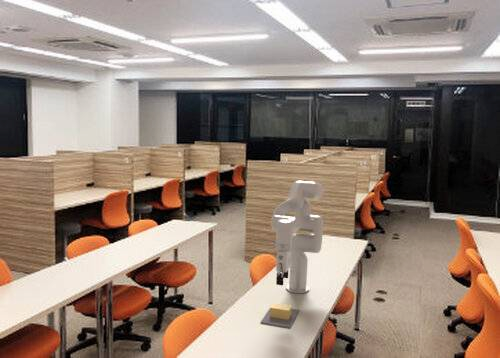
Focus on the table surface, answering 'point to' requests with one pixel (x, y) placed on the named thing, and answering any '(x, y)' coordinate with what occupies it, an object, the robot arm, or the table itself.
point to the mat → (279, 321)
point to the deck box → (280, 311)
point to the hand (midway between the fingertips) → (282, 281)
